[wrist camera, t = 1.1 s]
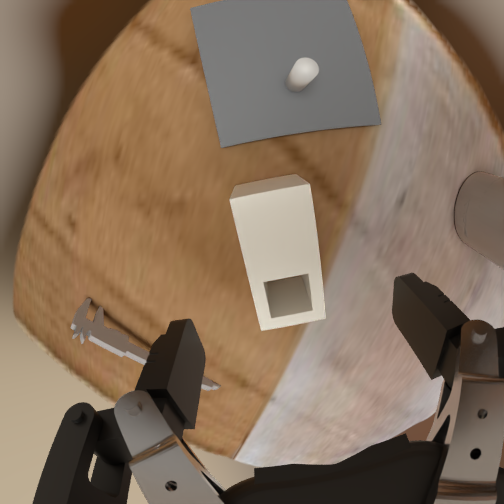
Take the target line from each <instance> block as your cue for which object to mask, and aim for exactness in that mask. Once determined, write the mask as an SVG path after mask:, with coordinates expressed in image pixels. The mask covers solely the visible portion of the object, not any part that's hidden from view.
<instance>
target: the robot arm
mask: <svg viewBox="0 0 504 504" xmlns="http://www.w3.org/2000/svg"><path fill="white" fill-rule="evenodd" d="M455 226H456V230H457V233H458V236H459V237H460V239H461V240H462V241H463V242H464V243H465V244H467V245H468V246H470V247H471V248H473V249H474V250H476V251H477V252H479V253H480V254H482V255H483V256H485V257H486V258H487V259H489V260H490V261H492V262H493V263H495V264H496V265H497V266H499V267H500V268H502V269H503V270H504V178H502V177H499V176H496V175H492V174H489V173H485V172H476V173H474V174H472V175H471V176H469V177H468V178H467V180H466V181H465V182H464V183H463V185H462V187H461V189H460V191H459V194H458V197H457V201H456V205H455ZM392 314H393V319H394V322H395V324H396V325H397V327H398V328H399V330H400V331H401V333H402V334H403V336H404V337H405V339H406V340H407V342H408V343H409V345H410V346H411V348H412V349H413V351H414V353H415V354H416V356H417V357H418V359H419V360H420V362H421V364H422V365H423V367H424V368H425V370H426V372H427V373H428V375H429V377H430V378H431V380H432V379H434V378H436V377H439V376H441V375H442V376H443V378H444V381H443V383H442V387H441V393H440V397H439V402H438V406H437V411H436V415H435V419H434V422H433V426H432V428H431V431H430V433H429V435H428V438H427V440H426V441H421V440H419V441H409V440H408V438H407V435H406V434H403V435H400V436H398V437H395V438H392V439H389V440H387V441H384V442H381V443H378V444H375V445H372V446H370V447H368V448H366V449H364V450H363V451H361V452H359V453H357V454H355V455H353V456H351V457H349V458H347V459H345V460H343V461H341V462H339V463H337V464H333V465H308V464H288V465H281V466H273V467H263V468H255V469H254V473H255V474H254V475H255V476H254V477H252V478H249V479H246V480H244V481H241V482H239V483H237V484H235V485H233V486H231V487H230V488H228V489H227V490H225V489H224V488H223V487H222V486H221V484H220V483H219V482H218V481H217V480H216V479H215V478H214V477H213V476H212V475H211V474H210V472H209V471H208V470H207V469H206V468H205V467H204V465H203V464H202V463H201V461H200V460H199V459H198V457H197V456H196V455H195V453H194V452H193V451H192V449H191V448H190V447H189V445H188V444H187V442H186V441H185V440H184V438H183V437H182V436H183V430H184V429H195V423H196V416H197V410H198V404H199V398H200V391H201V385H202V379H203V373H204V368H205V352H204V348H203V346H202V343H201V341H200V339H199V336H198V334H197V331H196V329H195V326H194V324H193V322H192V320H191V319H182V320H175V321H171V322H170V324H169V327H168V329H167V332H166V334H164V335H161V336H160V337H159V338H158V339H157V340H156V341H155V342H154V343H153V345H152V348H151V350H150V352H149V355H148V357H147V360H146V363H145V365H144V367H143V370H142V372H141V375H140V378H139V380H138V383H137V385H136V388H135V391H131V392H128V393H126V394H125V395H123V396H122V397H121V398H120V399H119V400H118V401H117V403H116V404H115V407H114V408H111V409H106V410H102V411H97V412H96V410H95V409H94V408H93V407H92V406H91V405H90V404H88V403H84V402H83V403H77V404H75V405H73V406H72V407H71V408H69V409H68V411H67V412H66V413H65V415H64V418H63V420H62V422H61V425H60V427H59V430H58V432H57V434H56V437H55V439H54V442H53V444H52V447H51V449H50V452H49V455H48V457H47V460H46V463H45V466H44V469H43V472H42V475H41V478H40V481H39V484H38V487H37V490H36V493H35V497H34V501H33V504H127V498H128V491H129V486H130V480H131V475H132V473H133V475H134V477H135V479H136V481H137V483H138V485H139V487H140V489H141V491H142V492H143V494H144V496H145V498H146V500H147V501H148V503H149V504H504V468H501V467H499V464H500V459H501V453H502V446H503V438H504V327H503V328H497V329H494V328H493V326H492V325H490V324H489V323H487V322H485V321H482V320H470V319H469V318H468V317H467V316H466V315H465V314H464V313H463V312H462V311H461V310H460V309H459V308H458V307H457V306H456V305H455V304H454V303H453V302H452V301H450V299H449V298H448V297H447V296H446V295H444V293H443V292H442V291H441V290H440V289H439V288H438V287H436V286H434V285H432V284H430V283H428V282H423V281H422V280H421V279H420V278H419V277H418V276H417V275H416V274H414V273H409V274H406V275H402V276H398V277H396V278H395V280H394V292H393V306H392ZM93 454H95V455H96V456H97V459H96V463H95V466H94V470H93V474H92V478H91V482H90V481H89V478H88V471H89V468H90V464H91V461H92V457H93Z"/></svg>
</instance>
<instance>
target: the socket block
mask: <svg viewBox="0 0 504 504" xmlns="http://www.w3.org/2000/svg"><path fill="white" fill-rule="evenodd" d="M230 204H231V208H232V212H233V216H234V221H235V225H236V229H237V233H238V237H239V241H240V246H241V250H242V254H243V258H244V262H245V266H246V271H247V275H248V279H249V283H250V287H251V291H252V295H253V299H254V303H255V307H256V311H257V315H258V319H259V323H260V327H261V331H263V330H269V329H275V328H280V327H286V326H291V325H296V324H302V323H307V322H311V321H316V320H321V319H326V316H325V303H324V292H323V281H322V271H321V262H320V253H319V245H318V237H317V229H316V221H315V214H314V207H313V201H312V194H311V188H310V184H309V183H308V182H307V181H305V180H304V179H303V178H301V177H300V176H298V175H297V174H291V175H286V176H280V177H275V178H269V179H264V180H259V181H254V182H249V183H244V184H240V185H235V187H234V189H233V192H232V194H231V197H230ZM298 275H301V276H298ZM293 276H298V277H293ZM288 277H293V278H288ZM283 278H288V279H283ZM278 279H283V280H278ZM272 280H277V281H272ZM267 281H272V282H267Z"/></svg>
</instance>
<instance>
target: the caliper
mask: <svg viewBox="0 0 504 504" xmlns="http://www.w3.org/2000/svg"><path fill="white" fill-rule="evenodd" d="M91 300H92V299H90V298H87V299H86V300H85V301H84V302H83V304H82V305H81V306H80V307H79V308H78V310H77V311H76V313H75V316H74V319H73V322H72V325H71V329H73V330H74V331H75V332H74V334H73V337H72V338H73V339H74V338H76V337H77V336H78V335H79V333H80V332H81V333H80V340H81V343H82V344H83V342H84V340H85V338H86V335H88V336H89V337H88V339H89V340H90V341H92V342H94V343H95V344H97V345H99V346H101V347H103V348H105V349H107V350H109V351H111V352H113V353H115V354H117V355H119V356H121V357H123V356H124V355H125V356H127V357H129V358H131V359H133V360H135V361H137V362H139V363H141V364H144V365H145V363H146V360H147V357H148V355H149V352H148V351H146V350H144V349H142V348H140V347H138V346H136V345H134V344H132V343H130V342H128V339H129V337H128V336H127V335H125V334H122V333H120V332H119V331H118V330H115V329H111V328H110V329H109V328H107V327H105V326H104V315H103V308H102V307H101V306H99V308H98V310H97V312H96V314H95V317H94V320H93V322H92V321H90V320H88V319H86V318H85V317H86V314H87V311H88V308H89V305H90V302H91ZM219 387H221V386H220V385H219V384H216V383H213V381H212V380H210V379H208V378H206V377H204V376H203V379H202V385H201V388H202V389H205V390H207V391H209V390H210V389H213V390H216V389H218V388H219Z"/></svg>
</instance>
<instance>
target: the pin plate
mask: <svg viewBox="0 0 504 504" xmlns="http://www.w3.org/2000/svg"><path fill="white" fill-rule="evenodd" d="M190 10H191V15H192V19H193V24H194V29H195V33H196V38H197V42H198V47H199V51H200V56H201V60H202V65H203V69H204V74H205V78H206V83H207V87H208V92H209V96H210V101H211V105H212V110H213V114H214V118H215V123H216V127H217V132H218V136H219V140H220V145H221V148H223V147H228V146H232V145H237V144H241V143H246V142H251V141H256V140H261V139H266V138H272V137H278V136H284V135H290V134H296V133H303V132H310V131H318V130H326V129H335V128H344V127H355V126H368V125H381V120H380V114H379V109H378V104H377V99H376V95H375V90H374V86H373V81H372V77H371V73H370V69H369V65H368V62H367V58H366V55H365V51H364V48H363V44H362V41H361V38H360V35H359V32H358V29H357V26H356V23H355V20H354V17H353V15H352V12H351V9H350V7H349V4H348V2H347V0H223V1H218V2H214V3H209V4H205V5H201V6H197V7H193V8H190Z"/></svg>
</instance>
